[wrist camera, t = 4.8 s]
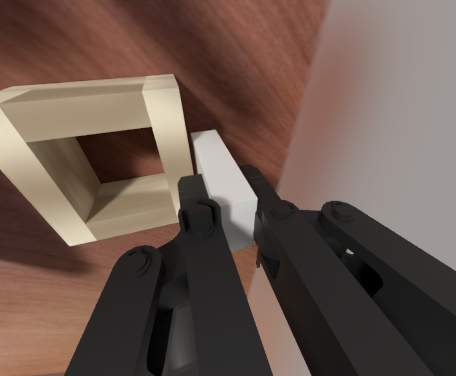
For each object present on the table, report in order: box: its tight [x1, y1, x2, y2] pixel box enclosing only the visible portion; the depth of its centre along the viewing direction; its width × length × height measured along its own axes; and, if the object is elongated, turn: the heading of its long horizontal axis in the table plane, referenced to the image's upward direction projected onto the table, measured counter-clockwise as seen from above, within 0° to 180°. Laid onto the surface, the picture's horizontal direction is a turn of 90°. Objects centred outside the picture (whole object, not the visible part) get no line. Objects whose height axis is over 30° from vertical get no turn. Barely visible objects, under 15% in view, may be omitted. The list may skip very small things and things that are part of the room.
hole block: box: [0, 74, 194, 246], centre depth 12 cm, size 8×8×4 cm
